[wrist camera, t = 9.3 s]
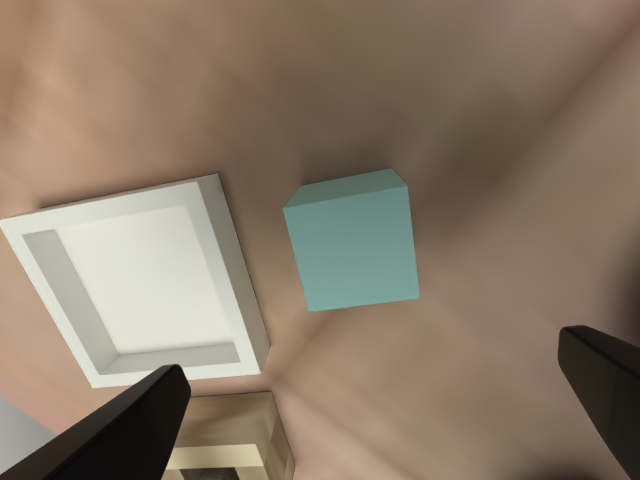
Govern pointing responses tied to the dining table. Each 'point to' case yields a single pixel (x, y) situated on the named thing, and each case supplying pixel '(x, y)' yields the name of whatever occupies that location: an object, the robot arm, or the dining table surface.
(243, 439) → the hollow square frame
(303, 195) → the block
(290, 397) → the dining table surface
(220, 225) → the tray
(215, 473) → the rod
